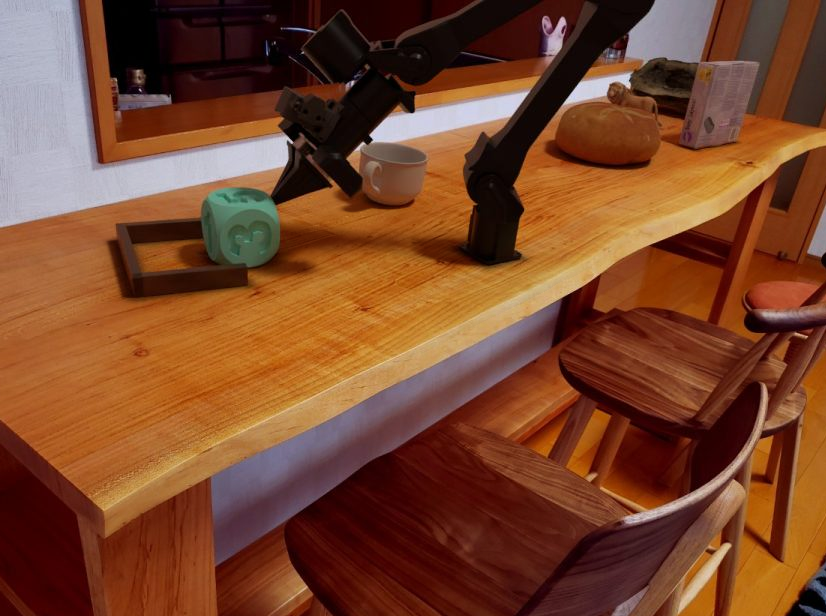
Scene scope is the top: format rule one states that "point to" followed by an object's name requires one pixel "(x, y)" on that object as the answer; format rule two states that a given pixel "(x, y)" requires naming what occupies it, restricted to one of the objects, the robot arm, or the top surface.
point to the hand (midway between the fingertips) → (272, 202)
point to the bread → (608, 133)
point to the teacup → (392, 172)
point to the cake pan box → (718, 103)
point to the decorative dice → (240, 226)
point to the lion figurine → (630, 99)
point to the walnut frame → (179, 277)
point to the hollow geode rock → (665, 82)
